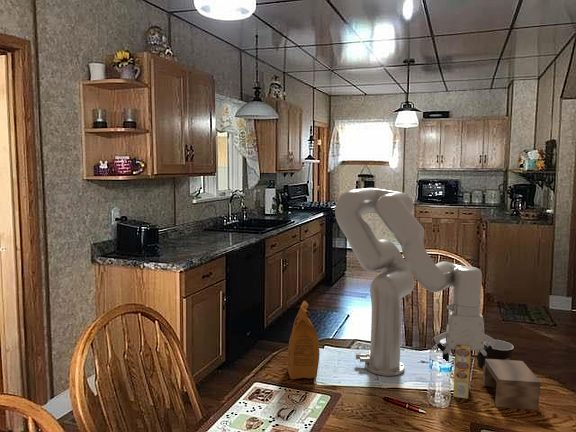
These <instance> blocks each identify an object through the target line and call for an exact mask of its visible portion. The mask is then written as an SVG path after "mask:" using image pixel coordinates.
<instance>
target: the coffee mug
mask: <svg viewBox="0 0 576 432" xmlns="http://www.w3.org/2000/svg"><path fill="white" fill-rule="evenodd" d="M495 341H496V343H495V345H494V346H493V347H492V350H491V351H490V352H488V353H487V355H486V356H485V359H498V360H512V358H513V352H514V347H515V346H514V345H513V344H512V343H510V342H507V341H505V340H500V339H495ZM488 343H489V342H488V341H487V340H485V343H484V347H485V346H486V345H488ZM476 359H477V360H476V361H478V354H477V355H476ZM483 367H484V365H483Z"/></svg>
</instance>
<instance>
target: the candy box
mask: <svg viewBox="0 0 576 432" xmlns="http://www.w3.org/2000/svg"><path fill="white" fill-rule="evenodd" d="M471 351H472V350H471V346H465V345H457V346H456V349H454V364H453V365H454V366H453V397H455V398H462V399H466V400H467V399H469V389H470V374H471V354H472V353H471Z"/></svg>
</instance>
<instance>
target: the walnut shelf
mask: <svg viewBox="0 0 576 432" xmlns="http://www.w3.org/2000/svg"><path fill="white" fill-rule="evenodd" d="M482 375H483V377H482V385H483V387H494V388H495V402H494V405H495V407H497V408H508V409H522V410H534V411H535V410H536V411H537V410H539V405H540V395H541V393H540V392H541V383H542V382H541V381H540V380H539V378H538V377H537V376H536V375H535V374H534V373H533V371H532V370H531V369H530V368H529V367H528V366H527V364H526V363H525V362H524V361H523V360H513V359H511V360H498V359H485V365H484V366H483V374H482Z"/></svg>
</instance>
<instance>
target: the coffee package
mask: <svg viewBox="0 0 576 432" xmlns="http://www.w3.org/2000/svg"><path fill="white" fill-rule="evenodd" d="M308 308H309V303H307V301H306V300H303V301H302V304H301V305H300V308H299V310H298V312H297V314H296V317H295V318H294V320H293V321H294V322H293V327H292V330H291V333H290V336H289V341H288V348H287V359H286V360H287V363H286V364H287V365H286V366H287V367H286V369H287V373H288V375H289V378H290V379H291V380H297V379H314V378H315V379H316V378H317V376H318V370H319V364H320V343H319V337H318V333H317V330H316V329H315V326H314V324H313V323H312V322H311V320H310V318H309V316H311V313H310V311H308V310H307V309H308Z"/></svg>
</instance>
